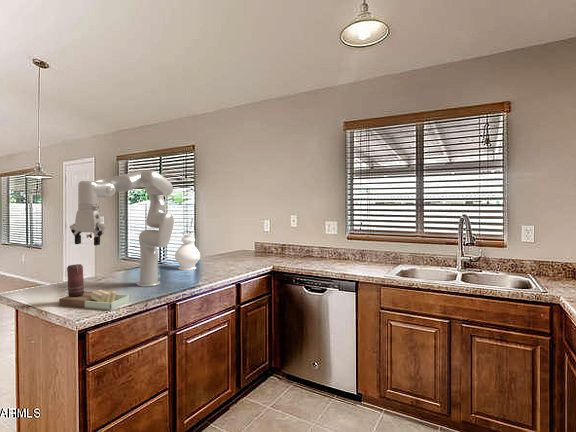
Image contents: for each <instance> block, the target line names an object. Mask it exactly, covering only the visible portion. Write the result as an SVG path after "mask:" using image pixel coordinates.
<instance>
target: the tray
mask: <svg viewBox="0 0 576 432" xmlns="http://www.w3.org/2000/svg"><path fill="white" fill-rule="evenodd" d="M129 302H131V294H122V293H121V294H120V293H119V294H118V293H116V295H115V299H114V302H112V303H106V302H99V301H98V302H94V301H85V308H84V309H91V310H92V309H94V310H104V311H113V310H115V309H117V308H119V307H121V306H123V305H125V304H127V303H129Z"/></svg>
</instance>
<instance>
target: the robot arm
mask: <svg viewBox="0 0 576 432" xmlns="http://www.w3.org/2000/svg"><path fill="white" fill-rule="evenodd" d="M77 187H78V188H77V189H78V193H77V195H78V196H77V199H78V200H77V203H78V206H77V207H78V208H77V211H76V212H75V213H76V215H75V220H74V221H75V223H73V224H71V225H70V226H69V229H70V231H71V233H72V235H73V236H74V245H80V244H81V243H82V235H81V234H82V233H91V234H92V233H93V235H94V236H93V245H94V246H99V245H100V244H101V237H102V235H103V234H104V233H105V230H106V227H105V226H104V225H102V224H101V216H100V211H99V210H98V209H99V208H100V207H99V205H98V198H111V197H113V196H114V195H115V193H116V192H118V193H119V192H122V193H123V192H128V191H132V190H135V189H138V188H141V187H144V190H145V193H147V196H148V198H149V202H150V204H149V209H148V212H147V215H146V220H145V222H146V225H147V227H150V228H153V229H144V230H142V231H141V232H140V234H139V235H138V242H139V247H140V248H139V249H140V251H139V252H140V257H139V258H140V259H139V264H140V265H139V281H137V282H136V286H138V287H146V288H148V287H156V286H159V285H161V281H160V280H158V279H160V278H161V275H160V274H159V273H158V271H159V252H158V248H165V247H167V246H168V245H169V242H170V241H171V238H172V237H171V236H172V232H173V229H174V224H175V220H174V216H173V215H172V213H170V212H168V211H167V212H166V206H167V205H166V201H165V198H164V196H165V197H166V196H170V195H171V194H173V191H174V187H173V183H172V182H170V180H169V179H167V178H166V177H165V176H163V175H162V174H161V173H159V172H157V171H156V170H152V169H151V170H137V171H133V172H130V173H129V172H128V173H126V174H121V175H116V176H112V177H106V178H100V179H95V180H91V181H89V180H81V181H79V182H78V186H77Z"/></svg>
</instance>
